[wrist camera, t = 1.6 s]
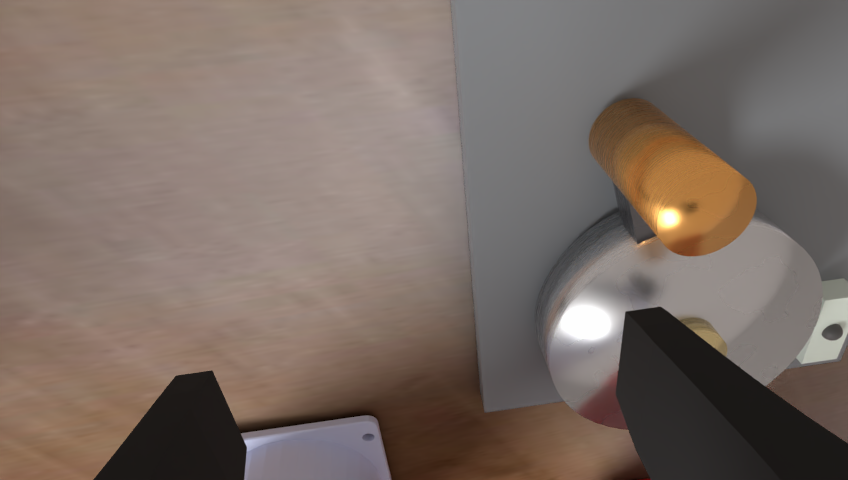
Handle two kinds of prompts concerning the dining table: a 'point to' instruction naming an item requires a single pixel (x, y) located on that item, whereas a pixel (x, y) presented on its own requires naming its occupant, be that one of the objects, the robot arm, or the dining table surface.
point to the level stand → (676, 97)
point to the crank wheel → (672, 264)
